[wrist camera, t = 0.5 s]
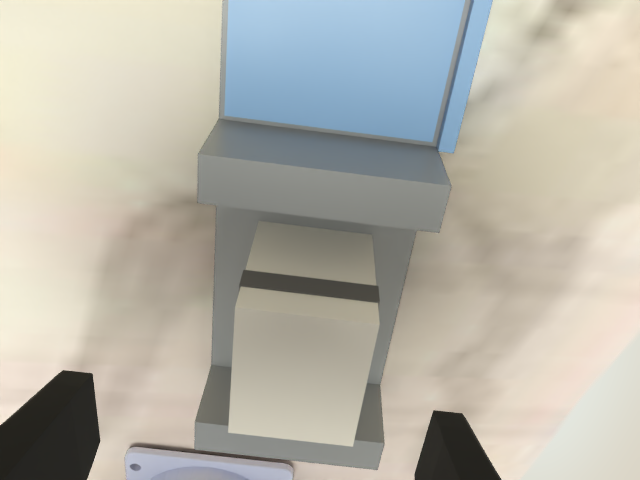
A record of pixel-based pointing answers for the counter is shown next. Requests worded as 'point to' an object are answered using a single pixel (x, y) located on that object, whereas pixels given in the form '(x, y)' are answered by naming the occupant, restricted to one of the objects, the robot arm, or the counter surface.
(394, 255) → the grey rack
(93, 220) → the counter surface
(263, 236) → the block
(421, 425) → the counter surface
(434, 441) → the robot arm
